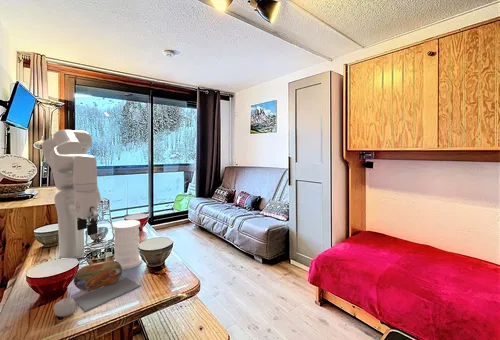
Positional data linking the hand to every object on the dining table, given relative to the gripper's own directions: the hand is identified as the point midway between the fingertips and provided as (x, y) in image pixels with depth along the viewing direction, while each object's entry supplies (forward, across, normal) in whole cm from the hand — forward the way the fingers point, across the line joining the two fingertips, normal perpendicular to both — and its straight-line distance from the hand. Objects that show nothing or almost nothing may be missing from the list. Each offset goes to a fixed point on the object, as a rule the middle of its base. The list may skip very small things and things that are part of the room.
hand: (87, 231), depth 94 cm
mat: (+19, +16, 0) cm, 25 cm away
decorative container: (+19, 0, +16) cm, 24 cm away
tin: (+19, +10, 0) cm, 21 cm away
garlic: (+19, +18, -13) cm, 29 cm away
